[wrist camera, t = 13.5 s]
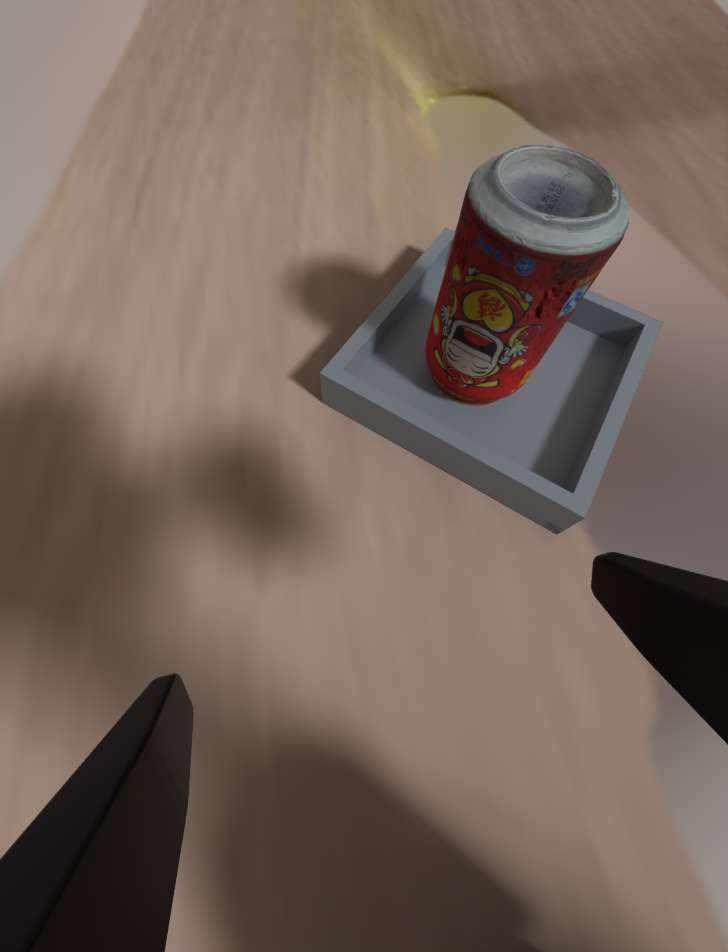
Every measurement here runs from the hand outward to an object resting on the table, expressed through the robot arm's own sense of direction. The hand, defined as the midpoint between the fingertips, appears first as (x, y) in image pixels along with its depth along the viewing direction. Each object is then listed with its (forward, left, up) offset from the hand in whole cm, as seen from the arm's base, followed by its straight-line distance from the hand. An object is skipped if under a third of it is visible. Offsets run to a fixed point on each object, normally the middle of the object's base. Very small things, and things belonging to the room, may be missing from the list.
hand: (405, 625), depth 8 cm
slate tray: (+2, -20, -14) cm, 24 cm away
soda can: (+3, -19, -13) cm, 23 cm away
